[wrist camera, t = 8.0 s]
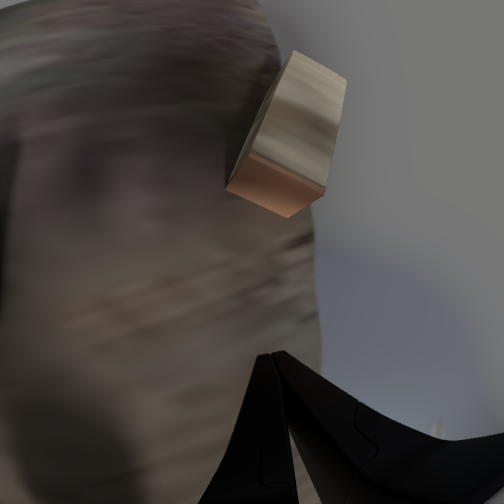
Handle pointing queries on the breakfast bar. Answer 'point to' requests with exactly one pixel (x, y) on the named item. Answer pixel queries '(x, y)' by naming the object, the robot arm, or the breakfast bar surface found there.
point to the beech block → (291, 138)
